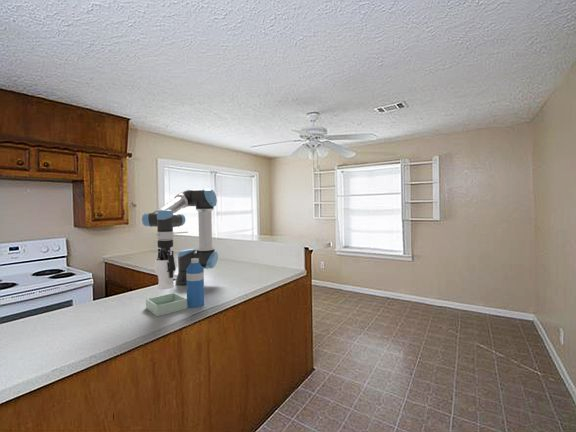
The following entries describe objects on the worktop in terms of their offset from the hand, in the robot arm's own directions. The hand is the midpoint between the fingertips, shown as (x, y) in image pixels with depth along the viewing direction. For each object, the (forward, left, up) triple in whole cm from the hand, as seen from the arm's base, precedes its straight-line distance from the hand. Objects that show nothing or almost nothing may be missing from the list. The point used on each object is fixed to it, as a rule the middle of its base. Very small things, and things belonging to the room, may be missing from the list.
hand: (166, 281), depth 150 cm
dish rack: (0, 0, -14) cm, 14 cm away
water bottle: (-14, +5, -14) cm, 20 cm away
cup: (0, 0, -3) cm, 3 cm away
